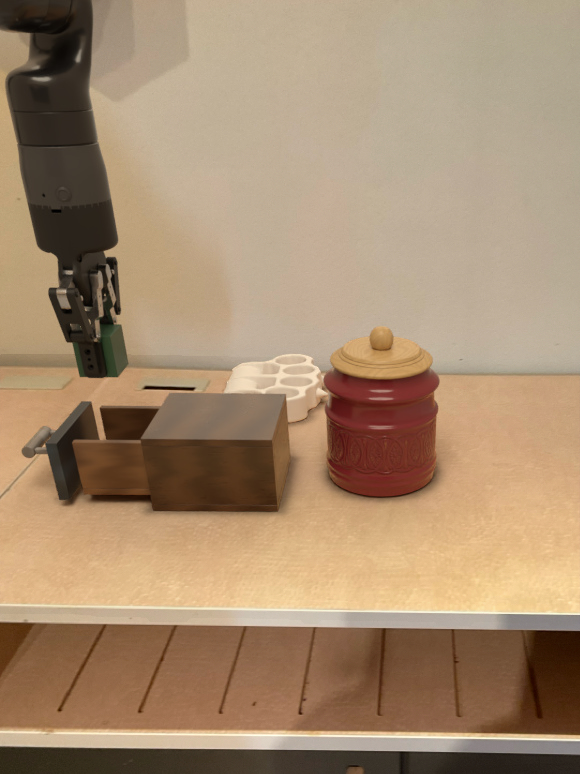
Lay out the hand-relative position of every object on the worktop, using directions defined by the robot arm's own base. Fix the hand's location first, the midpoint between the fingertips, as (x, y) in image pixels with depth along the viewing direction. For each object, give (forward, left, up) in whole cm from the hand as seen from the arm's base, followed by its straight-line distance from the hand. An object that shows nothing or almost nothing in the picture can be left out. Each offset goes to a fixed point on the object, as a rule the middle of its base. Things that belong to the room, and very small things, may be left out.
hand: (103, 368), depth 84 cm
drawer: (-1, 0, -13) cm, 13 cm away
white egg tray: (+14, +26, -14) cm, 33 cm away
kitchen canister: (+29, +3, -14) cm, 33 cm away
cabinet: (+11, 0, -14) cm, 18 cm away
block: (0, 0, 0) cm, 0 cm away
